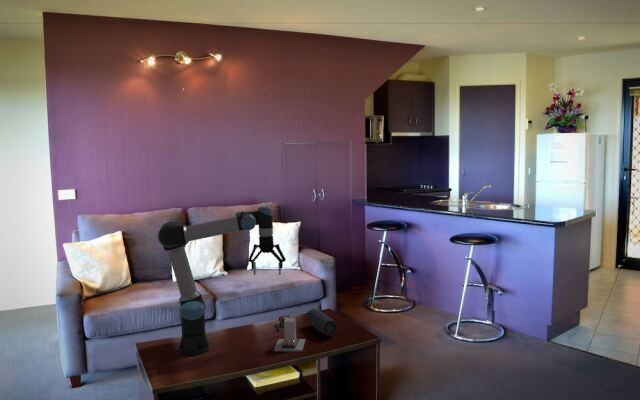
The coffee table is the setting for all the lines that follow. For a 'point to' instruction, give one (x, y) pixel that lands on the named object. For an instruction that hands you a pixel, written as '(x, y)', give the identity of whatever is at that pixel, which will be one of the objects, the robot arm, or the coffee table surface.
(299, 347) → the board
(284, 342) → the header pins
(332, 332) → the bluetooth speaker
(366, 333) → the coffee table surface
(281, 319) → the walkie-talkie
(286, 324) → the plug block
